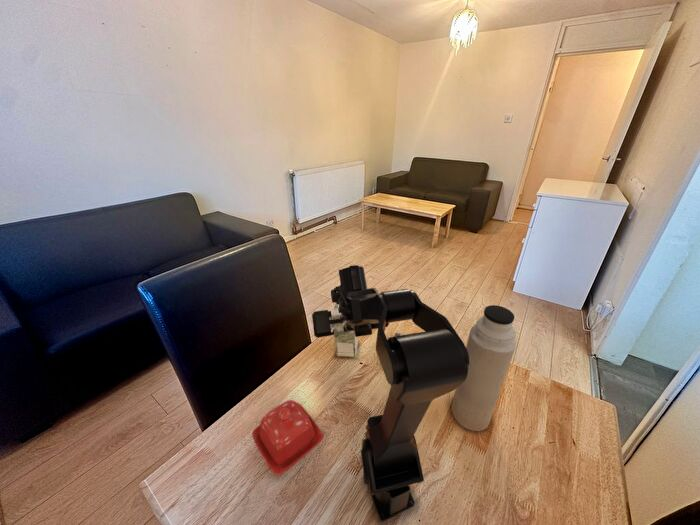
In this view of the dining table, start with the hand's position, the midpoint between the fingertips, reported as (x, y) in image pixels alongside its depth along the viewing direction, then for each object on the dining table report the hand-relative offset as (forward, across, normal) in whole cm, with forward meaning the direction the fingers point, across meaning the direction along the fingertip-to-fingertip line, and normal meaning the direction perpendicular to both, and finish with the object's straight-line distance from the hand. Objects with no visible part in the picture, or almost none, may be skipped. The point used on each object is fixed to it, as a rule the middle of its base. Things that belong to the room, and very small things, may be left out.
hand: (346, 323), depth 78 cm
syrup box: (+5, 0, +7) cm, 9 cm away
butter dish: (-11, +17, +22) cm, 30 cm away
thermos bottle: (-13, -23, +25) cm, 36 cm away
